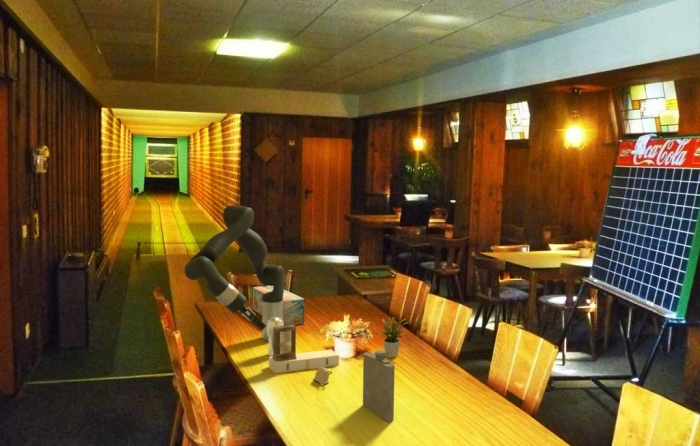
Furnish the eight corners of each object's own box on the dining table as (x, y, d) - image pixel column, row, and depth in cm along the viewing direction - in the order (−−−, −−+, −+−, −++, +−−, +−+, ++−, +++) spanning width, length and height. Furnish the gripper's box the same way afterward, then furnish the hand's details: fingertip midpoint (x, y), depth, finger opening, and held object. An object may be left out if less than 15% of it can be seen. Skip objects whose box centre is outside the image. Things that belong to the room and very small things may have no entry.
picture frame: (276, 361, 240) (276, 329, 239) (272, 357, 244) (272, 325, 243) (296, 359, 243) (296, 327, 242) (292, 355, 248) (292, 324, 246)
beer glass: (280, 357, 258) (280, 321, 256) (264, 356, 259) (264, 320, 257) (285, 352, 264) (286, 317, 263) (269, 351, 266) (269, 316, 264)
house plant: (416, 353, 266) (417, 314, 264) (405, 362, 254) (406, 322, 252) (385, 348, 272) (385, 311, 270) (372, 357, 259) (373, 318, 258)
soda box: (306, 324, 311) (306, 298, 309) (279, 328, 304) (279, 301, 303) (276, 307, 347) (276, 284, 345) (251, 309, 340) (251, 286, 339)
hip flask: (361, 405, 209) (361, 345, 207) (371, 402, 210) (372, 344, 209) (386, 422, 195) (387, 359, 193) (397, 420, 197) (399, 357, 195)
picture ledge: (275, 373, 238) (275, 363, 238) (268, 366, 246) (268, 356, 245) (338, 365, 249) (339, 355, 248) (331, 359, 256) (331, 349, 256)
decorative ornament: (322, 378, 234) (322, 364, 234) (333, 385, 227) (334, 370, 227) (313, 380, 232) (313, 365, 232) (323, 387, 225) (324, 372, 224)
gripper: (242, 293, 227) (273, 322, 233) (233, 286, 240) (262, 313, 246) (227, 309, 226) (259, 337, 231) (219, 301, 239) (249, 328, 244)
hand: (260, 325), depth 239 cm, fingers open, 8 cm apart
